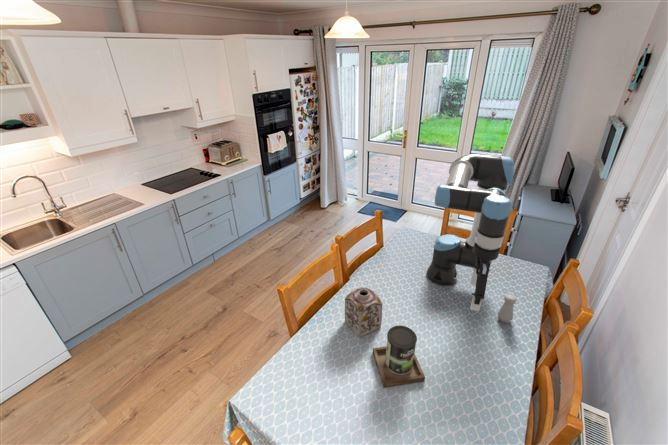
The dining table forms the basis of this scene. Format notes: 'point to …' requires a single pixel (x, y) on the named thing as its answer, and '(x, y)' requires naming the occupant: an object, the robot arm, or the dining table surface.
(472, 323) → the dining table surface
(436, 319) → the dining table surface
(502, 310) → the salt shaker
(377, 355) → the holder tray
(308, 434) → the dining table surface
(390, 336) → the coffee can
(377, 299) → the decorative jar
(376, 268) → the dining table surface
